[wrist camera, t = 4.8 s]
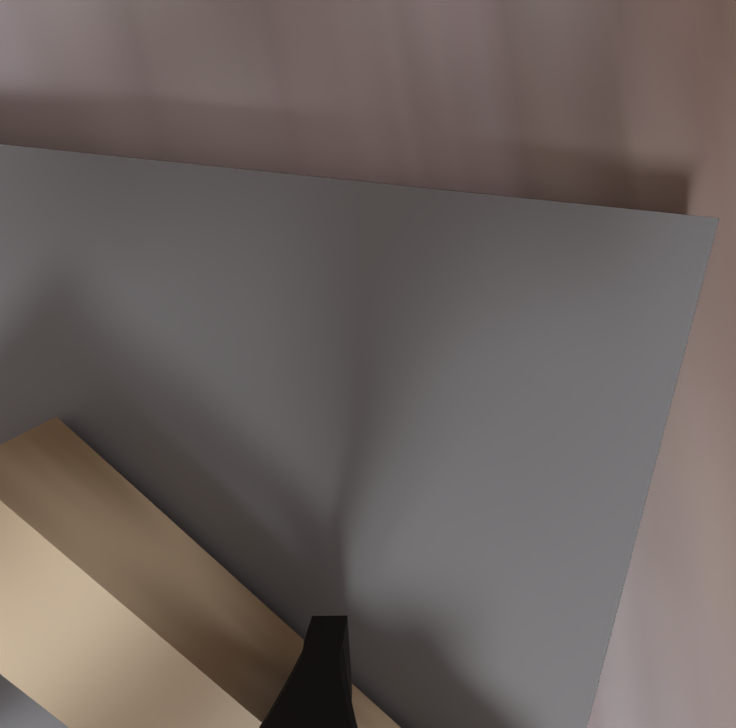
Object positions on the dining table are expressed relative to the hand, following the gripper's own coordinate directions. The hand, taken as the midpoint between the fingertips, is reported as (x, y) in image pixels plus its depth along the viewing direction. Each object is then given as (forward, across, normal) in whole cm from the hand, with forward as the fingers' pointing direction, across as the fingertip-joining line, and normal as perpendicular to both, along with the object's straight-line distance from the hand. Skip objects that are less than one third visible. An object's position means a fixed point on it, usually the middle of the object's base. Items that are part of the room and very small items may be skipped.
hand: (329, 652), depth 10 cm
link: (+1, +2, +2) cm, 3 cm away
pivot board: (+2, +5, -1) cm, 6 cm away
